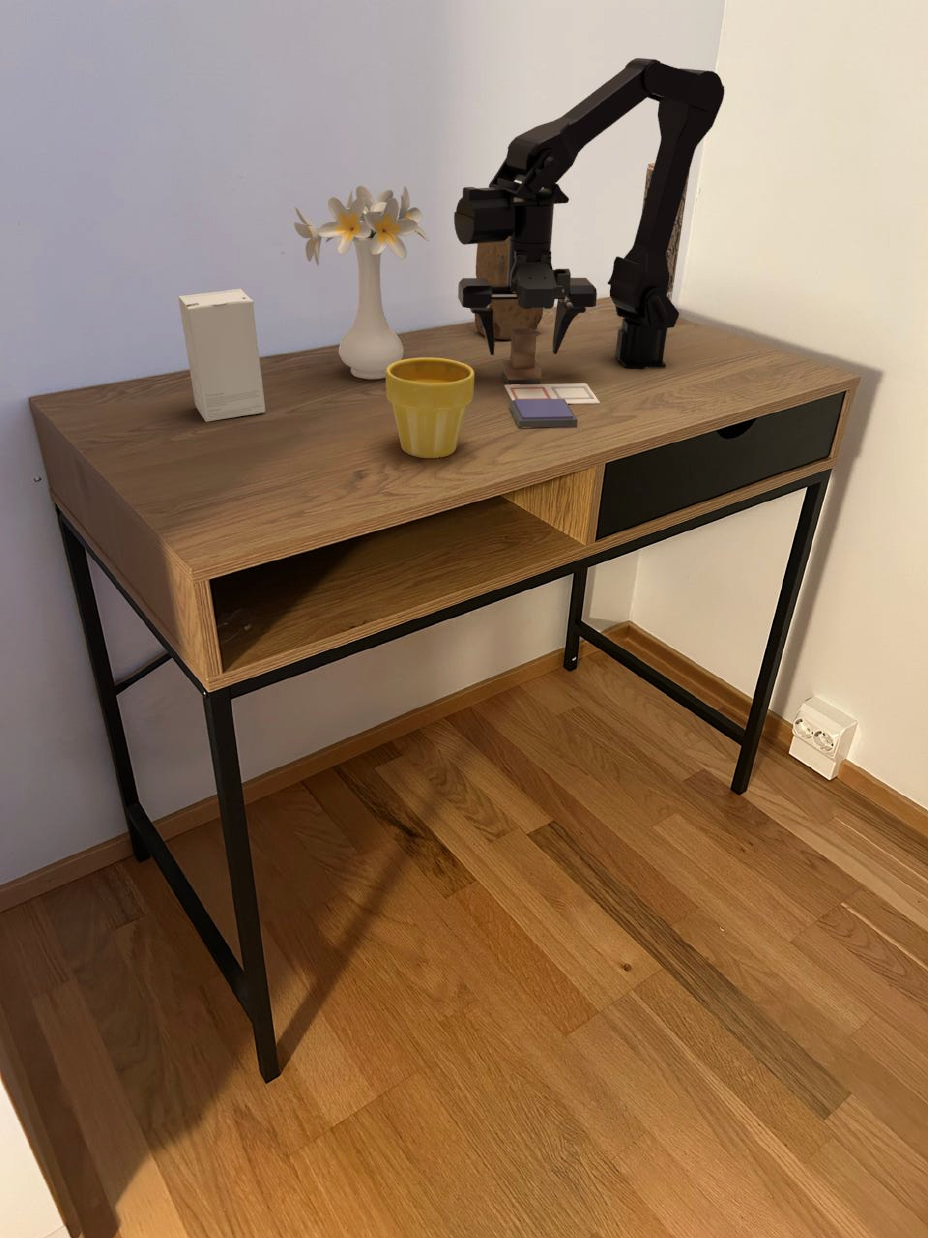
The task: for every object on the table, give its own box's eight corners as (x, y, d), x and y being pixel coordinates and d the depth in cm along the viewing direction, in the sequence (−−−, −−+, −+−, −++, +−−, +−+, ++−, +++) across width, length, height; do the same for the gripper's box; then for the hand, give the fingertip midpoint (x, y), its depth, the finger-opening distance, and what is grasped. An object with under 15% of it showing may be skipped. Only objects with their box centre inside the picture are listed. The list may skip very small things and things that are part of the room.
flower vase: (291, 373, 138) (278, 186, 124) (397, 352, 147) (395, 177, 134) (338, 399, 129) (328, 201, 116) (446, 375, 139) (449, 190, 125)
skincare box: (254, 400, 128) (243, 286, 120) (267, 414, 124) (256, 298, 116) (192, 408, 125) (176, 292, 117) (202, 423, 120) (187, 304, 112)
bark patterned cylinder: (628, 326, 164) (647, 167, 150) (629, 315, 169) (647, 161, 156) (668, 328, 163) (690, 169, 149) (667, 318, 168) (689, 163, 155)
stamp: (534, 373, 141) (537, 326, 137) (540, 384, 137) (544, 336, 133) (502, 374, 140) (504, 326, 136) (507, 385, 136) (510, 336, 132)
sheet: (586, 384, 137) (586, 382, 137) (599, 403, 130) (600, 401, 130) (504, 385, 136) (504, 383, 135) (514, 405, 129) (514, 403, 129)
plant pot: (454, 428, 121) (456, 352, 116) (484, 459, 113) (487, 379, 108) (376, 437, 118) (375, 359, 113) (401, 469, 110) (400, 387, 105)
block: (492, 343, 153) (497, 210, 142) (468, 331, 158) (472, 202, 147) (547, 335, 158) (557, 206, 147) (523, 324, 163) (530, 198, 152)
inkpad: (564, 406, 129) (564, 397, 128) (576, 426, 123) (577, 417, 122) (509, 407, 128) (509, 398, 128) (519, 428, 122) (519, 418, 121)
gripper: (469, 252, 120) (466, 372, 129) (612, 252, 122) (600, 370, 131) (459, 234, 129) (456, 348, 138) (591, 234, 132) (581, 346, 140)
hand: (523, 353), depth 136 cm, fingers open, 9 cm apart
